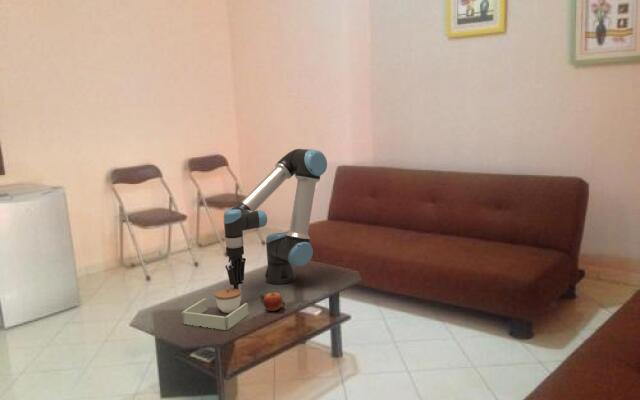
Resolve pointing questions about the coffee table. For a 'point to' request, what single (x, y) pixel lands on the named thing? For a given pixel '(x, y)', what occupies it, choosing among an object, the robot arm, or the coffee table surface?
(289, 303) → the coffee table surface
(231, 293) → the lidded jar
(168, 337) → the coffee table surface
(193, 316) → the bin
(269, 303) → the apple
